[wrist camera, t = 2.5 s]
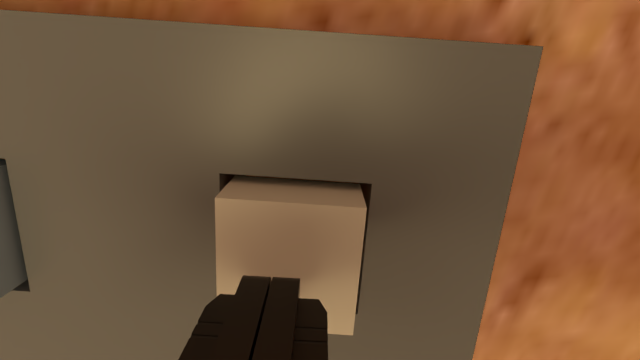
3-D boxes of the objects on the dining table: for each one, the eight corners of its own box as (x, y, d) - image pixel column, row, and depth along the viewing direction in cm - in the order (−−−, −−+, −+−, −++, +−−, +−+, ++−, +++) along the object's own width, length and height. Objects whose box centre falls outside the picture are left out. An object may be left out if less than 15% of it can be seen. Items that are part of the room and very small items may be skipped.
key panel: (485, 53, 14) (542, 46, 10) (431, 345, 18) (459, 417, 14) (-167, 9, 14) (-349, -15, 10) (-80, 310, 18) (-188, 372, 14)
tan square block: (359, 183, 13) (367, 208, 10) (348, 292, 14) (352, 335, 12) (235, 175, 13) (214, 197, 10) (235, 284, 14) (217, 326, 12)
